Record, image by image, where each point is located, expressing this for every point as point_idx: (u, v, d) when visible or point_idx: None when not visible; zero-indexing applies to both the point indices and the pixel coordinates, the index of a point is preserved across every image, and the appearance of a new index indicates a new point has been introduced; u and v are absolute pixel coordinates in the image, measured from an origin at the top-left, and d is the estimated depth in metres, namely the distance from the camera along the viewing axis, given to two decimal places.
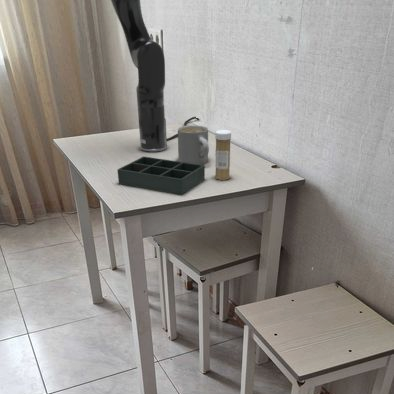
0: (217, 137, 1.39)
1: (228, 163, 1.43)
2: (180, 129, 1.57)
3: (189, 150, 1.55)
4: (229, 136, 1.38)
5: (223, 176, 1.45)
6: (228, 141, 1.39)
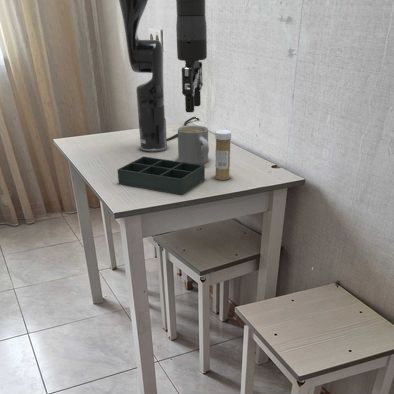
0: (217, 137, 1.39)
1: (228, 163, 1.43)
2: (180, 129, 1.57)
3: (189, 150, 1.55)
4: (229, 136, 1.38)
5: (223, 176, 1.45)
6: (228, 141, 1.39)
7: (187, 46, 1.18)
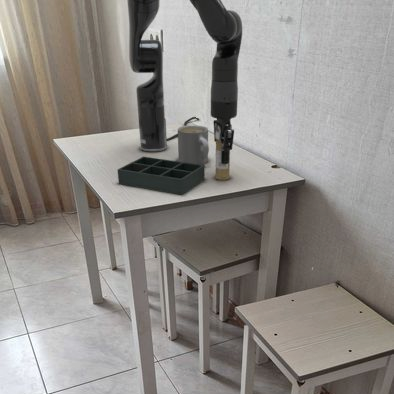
0: (217, 137, 1.39)
1: (228, 163, 1.43)
2: (180, 129, 1.57)
3: (189, 150, 1.55)
4: None
5: (223, 176, 1.45)
6: None
7: (226, 107, 1.32)
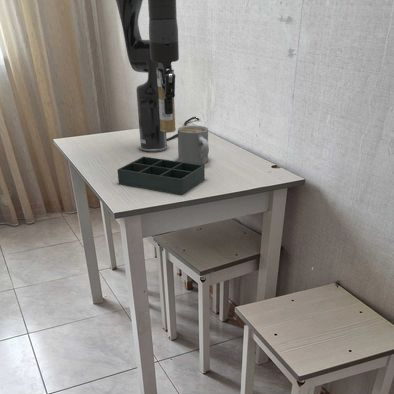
0: (159, 84, 1.29)
1: (173, 114, 1.33)
2: (180, 129, 1.57)
3: (189, 150, 1.55)
4: None
5: (168, 128, 1.35)
6: None
7: (166, 49, 1.22)
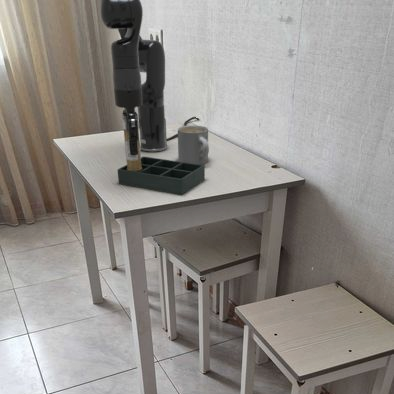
0: (124, 127, 1.34)
1: (138, 154, 1.39)
2: (180, 129, 1.57)
3: (189, 150, 1.55)
4: None
5: (134, 168, 1.40)
6: None
7: (128, 95, 1.27)
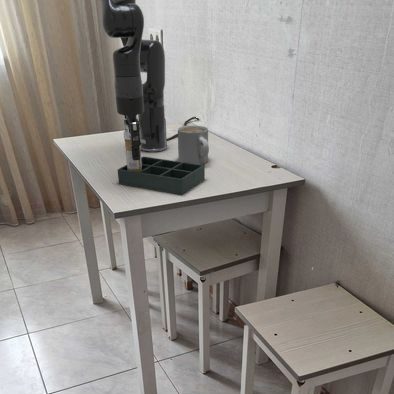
0: (125, 137, 1.36)
1: (139, 163, 1.40)
2: (180, 129, 1.57)
3: (189, 150, 1.55)
4: None
5: None
6: None
7: (130, 103, 1.28)
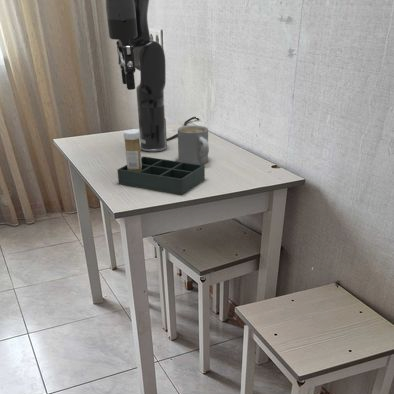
0: (125, 137, 1.36)
1: (139, 163, 1.40)
2: (180, 129, 1.57)
3: (189, 150, 1.55)
4: (137, 136, 1.36)
5: None
6: (136, 141, 1.36)
7: (123, 25, 1.23)
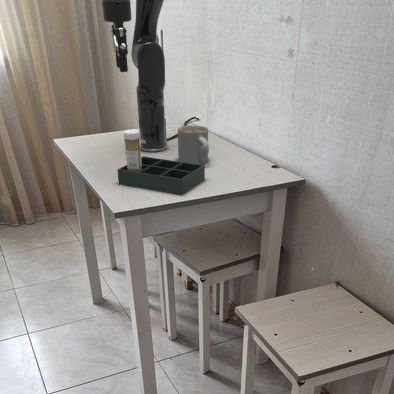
0: (125, 137, 1.36)
1: (139, 163, 1.40)
2: (180, 129, 1.57)
3: (189, 150, 1.55)
4: (137, 136, 1.36)
5: None
6: (136, 141, 1.36)
7: (117, 8, 1.25)
